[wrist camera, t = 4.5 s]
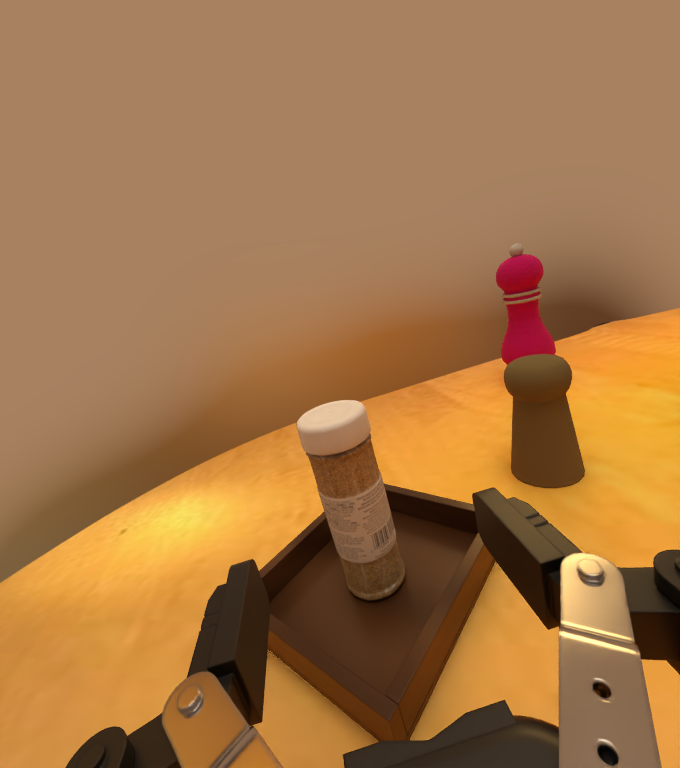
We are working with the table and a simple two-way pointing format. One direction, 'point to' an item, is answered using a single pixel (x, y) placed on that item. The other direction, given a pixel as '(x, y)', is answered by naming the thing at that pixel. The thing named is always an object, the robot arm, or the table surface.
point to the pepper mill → (523, 306)
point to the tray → (379, 612)
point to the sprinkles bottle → (353, 496)
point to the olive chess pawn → (542, 422)
